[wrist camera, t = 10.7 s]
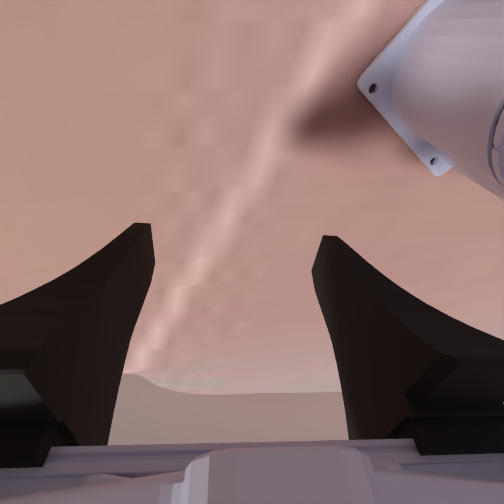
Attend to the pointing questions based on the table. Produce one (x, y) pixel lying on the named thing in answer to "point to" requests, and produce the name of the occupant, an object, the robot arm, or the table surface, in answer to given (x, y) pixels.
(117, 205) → the table surface
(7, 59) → the table surface
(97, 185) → the table surface
